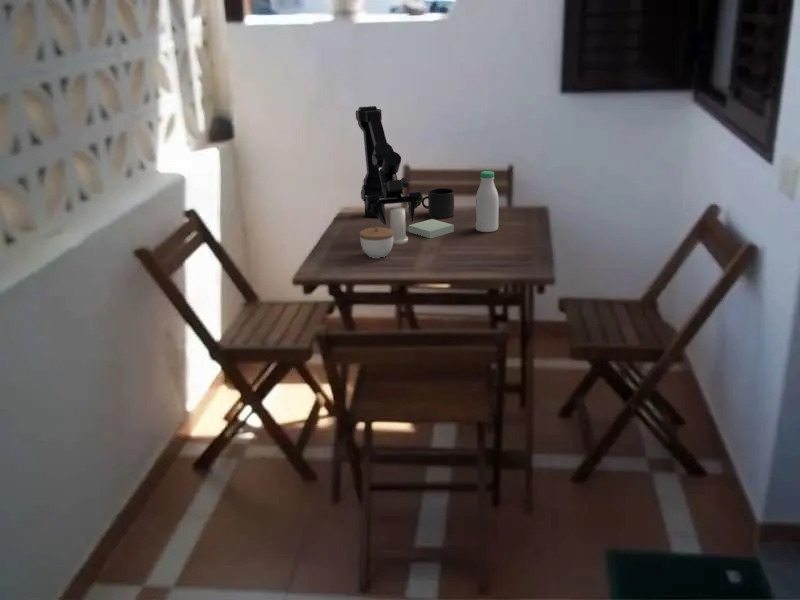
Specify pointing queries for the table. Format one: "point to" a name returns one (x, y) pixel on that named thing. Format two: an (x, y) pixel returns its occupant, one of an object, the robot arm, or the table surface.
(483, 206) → the milk bottle
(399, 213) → the white rounded piece
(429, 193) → the mug
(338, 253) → the table surface
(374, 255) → the lidded jar
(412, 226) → the block
